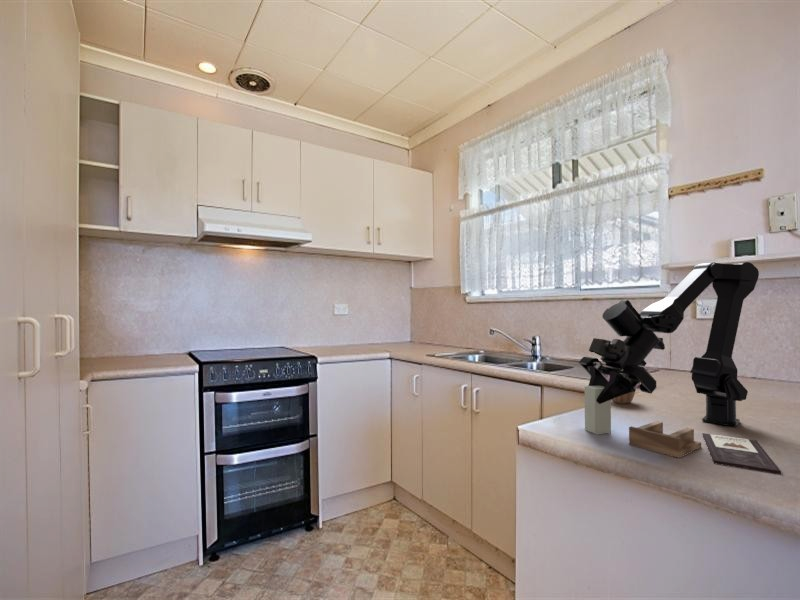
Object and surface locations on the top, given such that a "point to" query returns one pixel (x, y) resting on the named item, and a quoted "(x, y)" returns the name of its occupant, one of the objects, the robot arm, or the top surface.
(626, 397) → the cupcake
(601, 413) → the pale green rectangular block
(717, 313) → the robot arm
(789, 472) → the top surface
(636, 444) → the tray
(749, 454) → the chocolate bar
